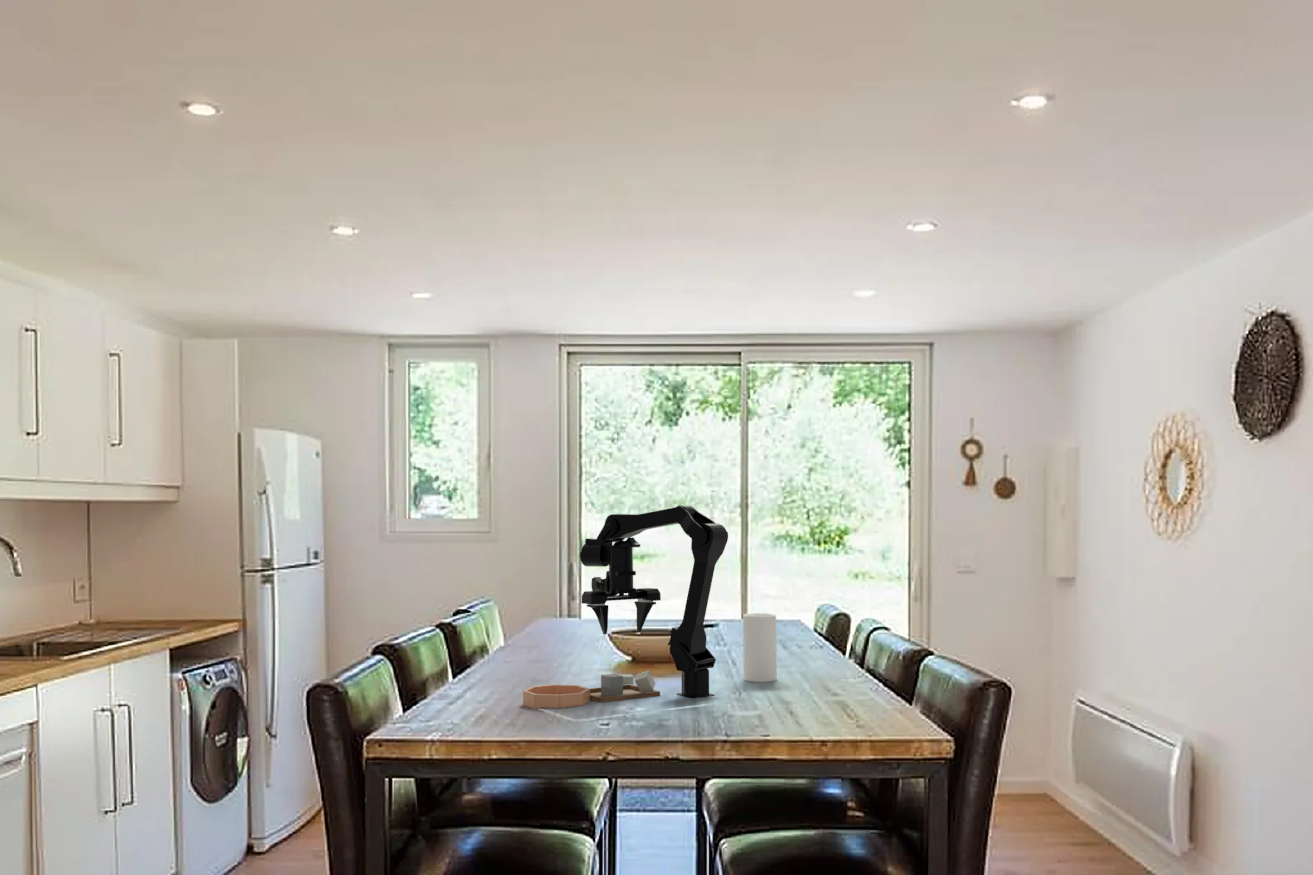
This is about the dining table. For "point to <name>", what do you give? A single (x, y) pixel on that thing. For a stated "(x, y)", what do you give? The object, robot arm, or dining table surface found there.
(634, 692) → the tray
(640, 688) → the grey small block
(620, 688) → the grey block
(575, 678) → the dining table surface
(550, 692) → the dish
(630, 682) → the pale green block
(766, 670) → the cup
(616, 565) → the robot arm
